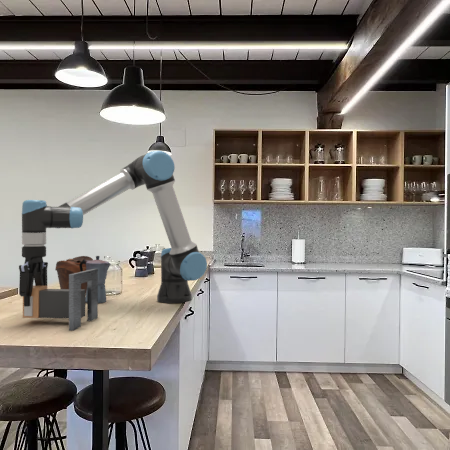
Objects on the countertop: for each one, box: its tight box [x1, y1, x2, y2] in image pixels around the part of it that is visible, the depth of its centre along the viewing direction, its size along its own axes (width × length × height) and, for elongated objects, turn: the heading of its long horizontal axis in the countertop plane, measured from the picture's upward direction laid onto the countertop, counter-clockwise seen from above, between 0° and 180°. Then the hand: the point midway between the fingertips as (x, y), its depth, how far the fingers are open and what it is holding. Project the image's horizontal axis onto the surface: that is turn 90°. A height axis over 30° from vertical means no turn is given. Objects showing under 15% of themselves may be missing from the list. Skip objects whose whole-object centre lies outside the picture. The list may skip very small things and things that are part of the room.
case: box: [55, 255, 94, 295], centre depth 201 cm, size 18×20×18 cm
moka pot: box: [79, 255, 112, 304], centre depth 178 cm, size 10×15×20 cm, turn 78°
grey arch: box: [68, 269, 99, 332], centre depth 138 cm, size 2×18×18 cm, turn 173°
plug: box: [22, 284, 86, 320], centre depth 139 cm, size 20×6×10 cm, turn 84°
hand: (33, 313), depth 140 cm, fingers closed on plug, 5 cm apart
